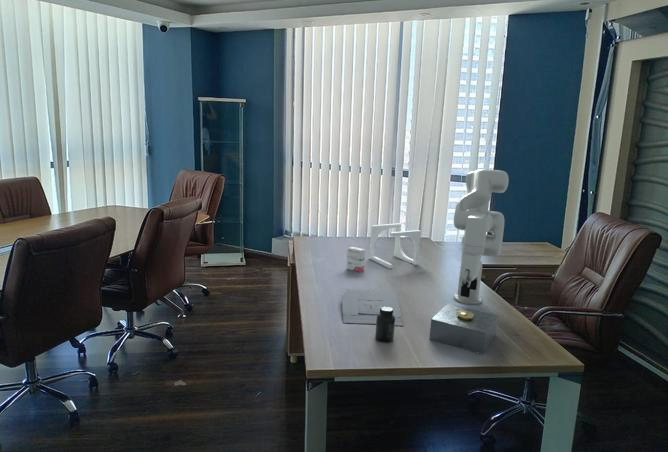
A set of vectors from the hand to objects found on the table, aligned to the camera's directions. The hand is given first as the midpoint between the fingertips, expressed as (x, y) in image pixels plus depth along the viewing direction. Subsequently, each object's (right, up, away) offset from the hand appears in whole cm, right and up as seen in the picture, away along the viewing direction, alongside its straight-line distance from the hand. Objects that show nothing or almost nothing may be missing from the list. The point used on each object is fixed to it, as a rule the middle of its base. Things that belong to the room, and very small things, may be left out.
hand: (468, 292), depth 186 cm
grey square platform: (-1, -18, +4) cm, 18 cm away
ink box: (-39, +1, +81) cm, 90 cm away
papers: (-35, -11, +25) cm, 45 cm away
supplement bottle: (-32, -17, -2) cm, 36 cm away
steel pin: (-1, -17, +4) cm, 18 cm away
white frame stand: (-16, +4, +100) cm, 101 cm away
